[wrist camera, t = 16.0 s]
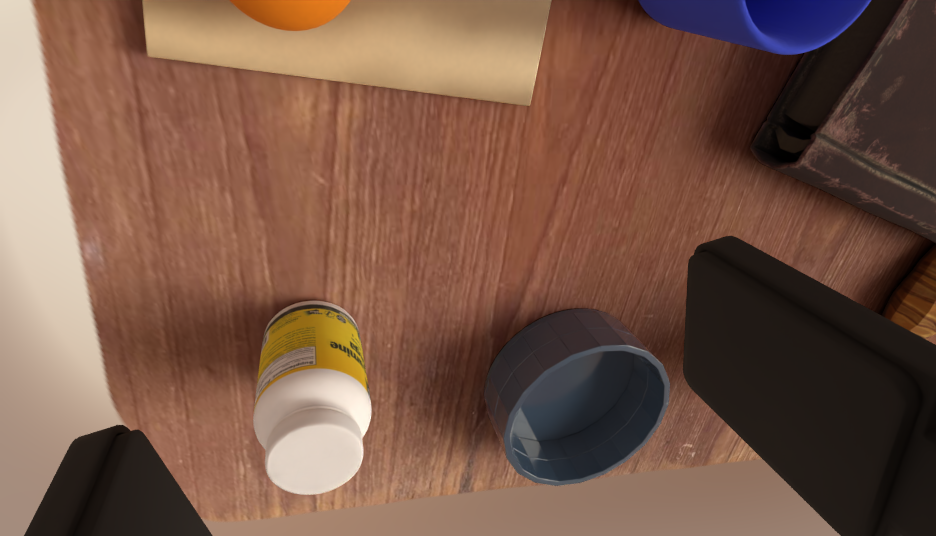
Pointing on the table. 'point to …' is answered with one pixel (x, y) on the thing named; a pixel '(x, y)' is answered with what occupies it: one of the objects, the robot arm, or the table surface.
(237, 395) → the table surface
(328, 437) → the pill bottle
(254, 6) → the orange
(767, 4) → the mug
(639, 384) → the fruit bowl
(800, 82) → the diary
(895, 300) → the croissant
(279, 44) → the serving board
